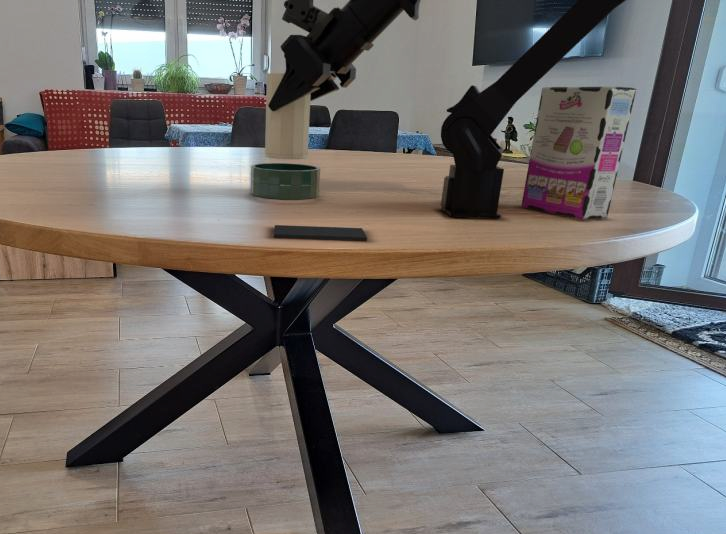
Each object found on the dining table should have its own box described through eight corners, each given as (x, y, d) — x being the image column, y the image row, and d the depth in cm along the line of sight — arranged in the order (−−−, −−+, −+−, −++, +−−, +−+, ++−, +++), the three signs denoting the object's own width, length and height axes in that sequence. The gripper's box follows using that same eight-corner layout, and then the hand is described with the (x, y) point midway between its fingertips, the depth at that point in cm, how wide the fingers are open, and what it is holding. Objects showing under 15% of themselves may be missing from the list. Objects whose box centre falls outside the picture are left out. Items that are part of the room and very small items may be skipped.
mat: (361, 231, 73) (362, 228, 73) (366, 241, 68) (367, 237, 68) (274, 228, 73) (274, 224, 73) (273, 237, 68) (273, 234, 68)
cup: (306, 155, 94) (310, 75, 90) (308, 159, 89) (312, 74, 85) (265, 154, 94) (267, 74, 90) (264, 158, 89) (266, 72, 85)
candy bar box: (609, 219, 85) (639, 87, 79) (583, 221, 83) (612, 86, 77) (544, 205, 95) (566, 86, 89) (519, 207, 93) (540, 85, 87)
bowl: (316, 194, 98) (318, 164, 97) (319, 205, 89) (321, 172, 87) (252, 192, 98) (252, 162, 97) (248, 202, 89) (249, 169, 88)
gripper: (340, -18, 90) (265, 66, 97) (300, -43, 74) (213, 60, 81) (390, 44, 90) (311, 123, 98) (361, 32, 74) (269, 128, 82)
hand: (278, 108), depth 90 cm, fingers closed on cup, 6 cm apart
